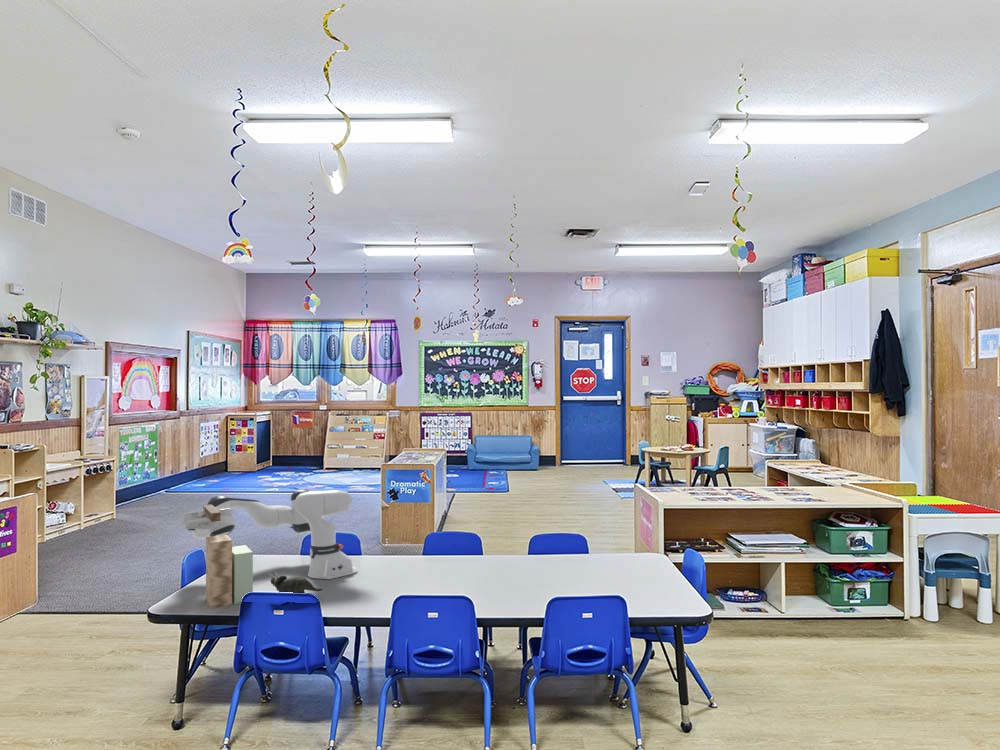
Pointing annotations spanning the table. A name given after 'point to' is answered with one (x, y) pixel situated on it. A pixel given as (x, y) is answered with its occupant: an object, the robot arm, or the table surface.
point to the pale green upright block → (241, 572)
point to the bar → (212, 513)
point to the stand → (218, 571)
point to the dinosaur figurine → (292, 584)
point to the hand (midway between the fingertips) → (209, 510)
